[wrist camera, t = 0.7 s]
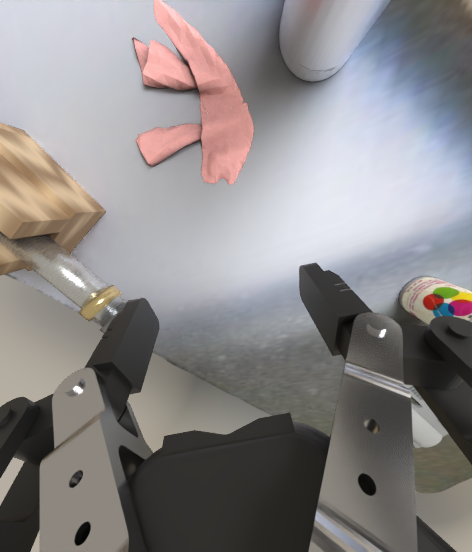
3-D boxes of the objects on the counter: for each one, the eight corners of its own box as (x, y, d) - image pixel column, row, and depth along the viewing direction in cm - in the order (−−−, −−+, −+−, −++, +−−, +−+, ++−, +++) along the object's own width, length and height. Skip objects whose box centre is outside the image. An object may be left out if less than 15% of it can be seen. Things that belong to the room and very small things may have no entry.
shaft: (24, 238, 27) (-24, 246, 22) (44, 212, 26) (-3, 214, 21) (124, 322, 31) (102, 344, 26) (145, 303, 30) (126, 322, 25)
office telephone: (422, 456, 45) (369, 411, 41) (413, 443, 48) (362, 399, 44) (534, 404, 39) (485, 345, 35) (517, 392, 41) (469, 335, 37)
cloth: (249, 197, 31) (250, 197, 28) (106, 182, 30) (95, 181, 28) (270, 13, 24) (273, -7, 21) (86, -7, 24) (69, -29, 21)
